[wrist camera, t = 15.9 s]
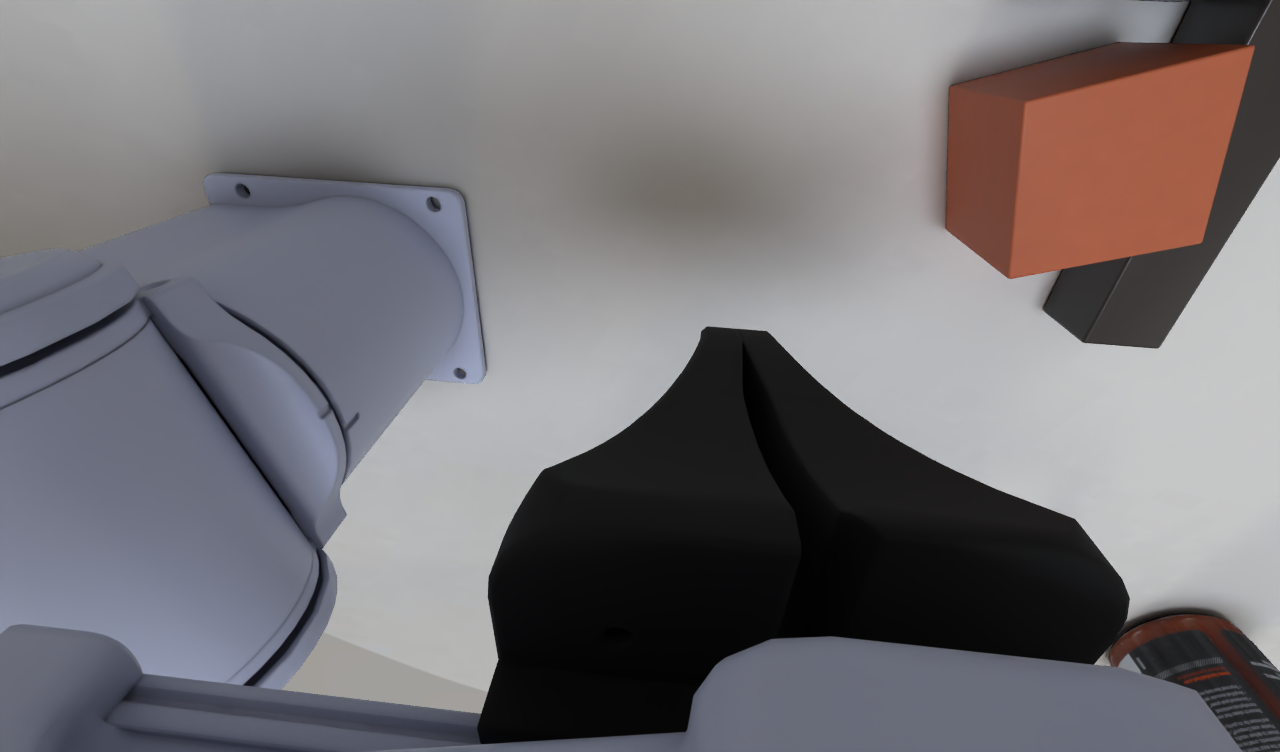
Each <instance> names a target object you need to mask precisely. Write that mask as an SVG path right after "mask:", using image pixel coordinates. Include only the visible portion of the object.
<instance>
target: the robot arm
mask: <svg viewBox="0 0 1280 752" xmlns="http://www.w3.org/2000/svg"><path fill="white" fill-rule="evenodd" d="M243 185H245V186H246V187H247V188H248V189H249V191H250V195H249V194H247V193H246V192H245V190H244V188H243ZM203 186H204V190H205V192H206V195H207V198H208V200H209V203H210V205H209V206H206V207H203V208H200V209H198V210H195V211H192V212H189V213H186V214H183V215H180V216H177V217H175V218H172V219H169V220H166V221H163V222H160V223H157V224H155V225H152V226H149V227H146V228H143V229H140V230H137V231H134V232H132V233H129V234H126V235H123V236H120V237H117V238H114V239H111V240H109V241H106V242H103V243H100V244H97V245H94V246H91V247H89V248H86V249H83V250H80V251H77V252H75V251H72V250H69V249H64V248H56V249H47V250H40V251H34V252H28V253H23V254H18V255H13V256H8V257H3V258H0V752H1243V751H1242V750H1241V749H1240V748H1239V746H1238V745H1237V744H1236V742H1235V741H1234V740H1233V738H1232V737H1231V736H1230V734H1229V733H1228V732H1227V730H1226V729H1225V728H1224V726H1223V725H1222V724H1221V723H1220V721H1219V720H1218V719H1217V717H1216V716H1215V715H1214V713H1213V712H1212V711H1211V709H1210V708H1209V707H1208V705H1207V704H1206V703H1205V701H1204V700H1203V699H1202V698H1201V696H1200V695H1199V694H1198V692H1197V691H1196V690H1193V689H1190V688H1187V687H1184V686H1181V685H1178V684H1175V683H1172V682H1168V681H1165V680H1161V679H1158V678H1154V677H1151V676H1147V675H1144V674H1141V673H1137V672H1134V671H1130V670H1127V669H1123V668H1119V667H1110V666H1101V665H1094V664H1095V662H1096V661H1097V660H1098V659H1099V658H1100V657H1101V656H1102V654H1103V653H1104V652H1105V651H1106V650H1107V649H1108V647H1109V646H1110V645H1111V644H1112V643H1113V641H1114V640H1115V638H1116V636H1117V635H1118V633H1119V632H1120V630H1121V628H1122V627H1123V625H1124V623H1125V621H1126V619H1127V615H1128V607H1129V600H1130V598H1129V595H1128V593H1127V590H1126V588H1125V585H1124V583H1123V580H1122V578H1121V577H1120V576H1119V575H1118V573H1117V572H1116V571H1115V569H1114V568H1113V567H1112V566H1111V564H1110V563H1109V562H1108V560H1107V559H1106V558H1105V557H1104V555H1103V554H1102V553H1101V551H1100V550H1099V549H1098V548H1097V546H1096V545H1095V544H1094V542H1093V541H1092V540H1091V539H1090V537H1089V536H1088V535H1087V533H1086V532H1085V531H1084V530H1083V528H1082V527H1081V526H1080V525H1079V523H1078V522H1077V521H1076V520H1075V519H1073V518H1071V517H1068V516H1065V515H1063V514H1060V513H1057V512H1055V511H1052V510H1050V509H1047V508H1044V507H1042V506H1039V505H1036V504H1034V503H1031V502H1028V501H1026V500H1023V499H1020V498H1018V497H1015V496H1012V495H1010V494H1007V493H1004V492H1002V491H999V490H997V489H994V488H992V487H990V486H988V485H985V484H983V483H981V482H979V481H977V480H974V479H972V478H970V477H968V476H965V475H963V474H961V473H959V472H957V471H954V470H952V469H950V468H948V467H946V466H944V465H942V464H940V463H938V462H936V461H934V460H932V459H930V458H928V457H927V456H925V455H923V454H921V453H920V452H918V451H916V450H914V449H912V448H911V447H909V446H907V445H905V444H903V443H902V442H900V441H898V440H896V439H895V438H893V437H892V436H890V435H888V434H887V433H885V432H883V431H882V430H880V429H879V428H877V427H876V426H874V425H873V424H872V423H870V422H869V421H867V420H866V419H864V418H863V417H861V416H860V415H858V414H857V413H856V412H854V411H853V410H852V409H850V408H849V407H848V406H846V405H845V404H844V403H842V402H841V401H840V400H839V399H838V398H836V397H835V396H834V395H833V394H832V393H830V392H829V391H828V390H827V389H826V388H824V387H823V386H822V385H821V384H820V383H819V382H818V381H817V380H816V379H814V378H813V377H812V376H811V375H810V374H809V373H808V372H807V371H806V370H805V369H804V368H803V367H802V366H801V365H800V364H799V363H798V362H797V361H796V360H795V359H794V358H793V357H792V356H791V355H790V354H789V353H788V352H787V351H786V350H785V349H784V348H783V347H782V346H781V345H780V344H779V343H778V342H777V341H776V339H775V338H774V337H773V336H772V335H771V334H769V333H768V332H767V331H757V330H745V329H732V328H720V327H706V328H705V329H703V330H702V331H701V338H700V341H699V344H698V346H697V348H696V350H695V352H694V354H693V356H692V357H691V359H690V360H689V362H688V364H687V365H686V367H685V369H684V370H683V371H682V373H681V374H680V375H679V377H678V378H677V379H676V380H675V382H674V383H673V384H672V386H671V387H670V388H669V389H668V391H667V392H666V393H665V394H664V395H663V396H662V397H661V398H660V399H659V400H658V401H657V402H656V403H655V404H654V405H653V406H652V407H651V408H650V409H649V410H648V411H647V412H646V413H645V414H643V415H642V416H641V417H640V418H638V419H637V420H636V421H635V422H634V423H632V424H631V425H630V426H629V427H627V428H626V429H624V430H623V431H622V432H620V433H619V434H617V435H616V436H614V437H612V438H611V439H609V440H608V441H606V442H604V443H602V444H601V445H599V446H597V447H595V448H593V449H591V450H589V451H587V452H585V453H583V454H580V455H578V456H576V457H573V458H571V459H569V460H566V461H564V462H562V463H559V464H557V465H555V466H552V467H549V468H546V469H544V470H543V471H542V472H541V473H540V475H539V476H538V478H537V479H536V481H535V482H534V484H533V485H532V487H531V488H530V490H529V491H528V493H527V494H526V496H525V498H524V500H523V501H522V503H521V505H520V507H519V508H518V510H517V512H516V513H515V515H514V517H513V519H512V521H511V523H510V525H509V527H508V529H507V531H506V533H505V536H504V538H503V541H502V543H501V546H500V549H499V551H498V554H497V557H496V559H495V562H494V565H493V567H492V570H491V573H490V575H489V582H488V600H489V606H490V612H491V618H492V624H493V630H494V636H495V642H496V648H497V653H498V659H499V660H498V663H497V666H496V669H495V672H494V675H493V679H492V682H491V685H490V688H489V691H488V694H487V697H486V700H485V704H484V707H483V710H482V713H481V714H478V713H469V712H461V711H452V710H444V709H436V708H428V707H419V706H411V705H403V704H394V703H386V702H377V701H369V700H361V699H352V698H344V697H336V696H327V695H318V694H311V693H302V692H293V691H285V690H282V688H283V687H284V686H285V685H286V684H287V683H288V681H289V680H290V679H291V678H292V677H293V676H294V674H295V673H296V672H297V671H298V670H299V669H300V667H301V666H302V664H303V663H304V662H305V660H306V659H307V657H308V656H309V654H310V653H311V652H312V650H313V649H314V647H315V646H316V644H317V642H318V640H319V639H320V637H321V635H322V633H323V631H324V630H325V628H326V626H327V624H328V621H329V619H330V616H331V614H332V611H333V608H334V605H335V600H336V595H337V575H336V572H335V568H334V565H333V563H332V561H331V560H330V558H329V557H328V556H327V554H326V553H325V552H324V551H323V550H322V548H323V547H324V546H325V544H326V543H327V541H328V540H329V539H330V537H331V536H332V535H333V533H334V532H335V531H336V529H337V528H338V526H339V525H340V524H341V522H342V521H343V520H344V518H345V517H346V515H347V514H346V512H345V510H344V508H343V506H342V504H341V500H340V488H341V485H342V484H343V483H344V482H345V480H346V479H347V478H348V476H349V475H350V474H351V473H352V471H353V470H354V469H355V468H356V466H357V465H358V464H359V463H360V461H361V460H362V459H363V458H364V456H365V455H366V454H367V452H368V451H369V450H370V449H371V447H372V446H373V445H374V444H375V442H376V441H377V440H378V439H379V437H380V436H381V435H382V434H383V432H384V431H385V430H386V428H387V427H388V426H389V425H390V423H391V422H392V421H393V420H394V418H395V417H396V416H397V415H398V413H399V412H400V411H401V410H402V408H403V407H404V406H405V404H406V403H407V402H408V401H409V399H410V398H411V397H412V396H413V394H414V393H415V392H416V391H417V389H418V388H419V387H420V386H421V384H422V383H423V382H424V380H435V381H446V382H458V383H469V384H478V383H480V382H481V381H482V380H483V379H484V377H485V375H486V366H485V358H484V350H483V342H482V334H481V326H480V319H479V311H478V303H477V295H476V287H475V279H474V271H473V263H472V255H471V247H470V239H469V231H468V223H467V216H466V208H465V202H464V199H463V197H462V196H461V195H460V193H458V192H457V191H456V190H453V189H449V188H435V187H420V186H406V185H391V184H376V183H361V182H347V181H332V180H317V179H302V178H287V177H273V176H258V175H243V174H228V173H214V174H210V175H207V176H206V177H205V178H204V181H203ZM431 197H435V198H437V199H438V200H439V201H440V204H441V209H437V208H435V207H434V206H433V205H432V203H431ZM458 368H461V369H463V370H464V371H465V372H466V374H463V373H461V372H459V371H458Z"/></svg>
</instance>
